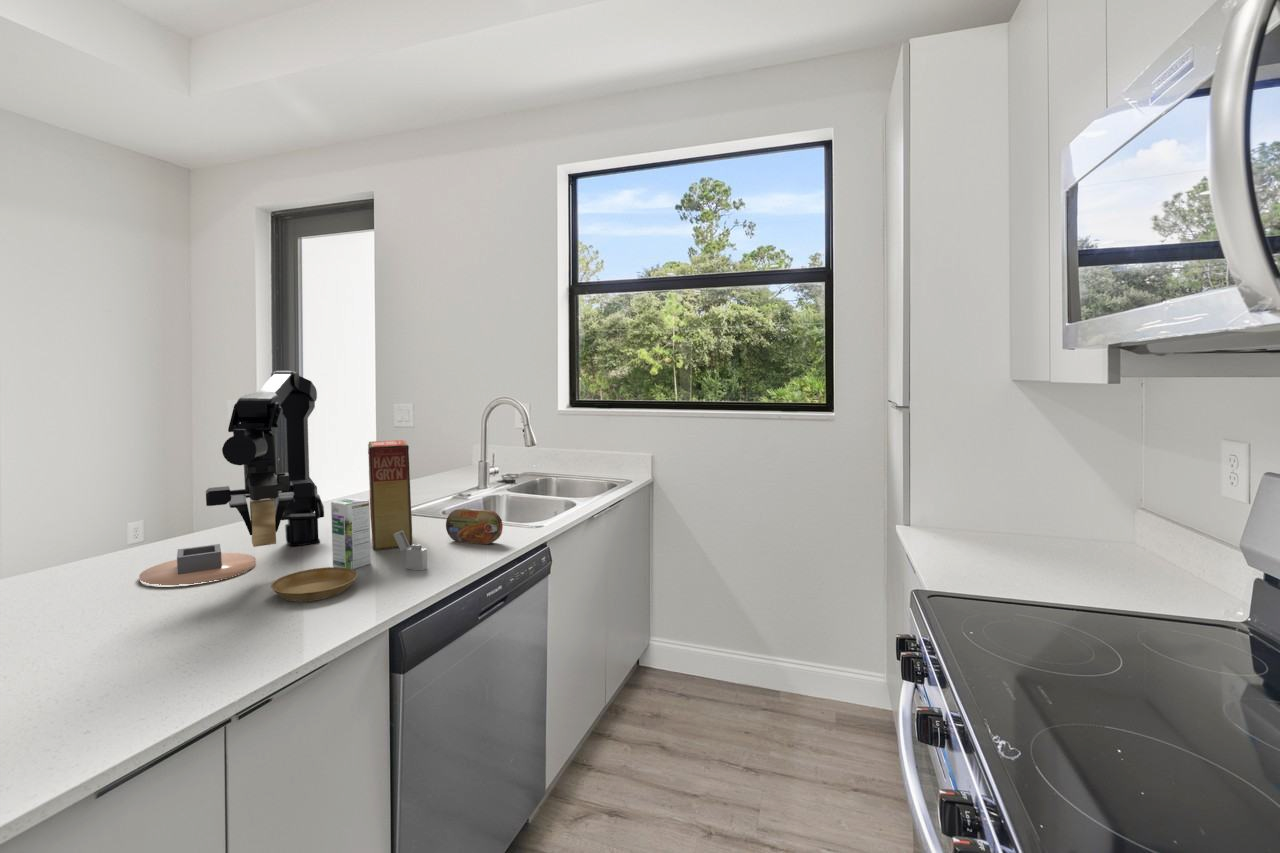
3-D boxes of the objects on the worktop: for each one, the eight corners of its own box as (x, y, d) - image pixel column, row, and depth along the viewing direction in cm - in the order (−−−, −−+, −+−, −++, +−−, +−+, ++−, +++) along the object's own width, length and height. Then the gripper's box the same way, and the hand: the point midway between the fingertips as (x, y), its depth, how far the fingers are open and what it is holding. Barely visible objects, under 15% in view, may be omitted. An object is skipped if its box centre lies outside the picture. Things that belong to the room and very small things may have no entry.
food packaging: (370, 537, 157) (367, 440, 155) (409, 533, 161) (407, 439, 159) (371, 550, 145) (368, 446, 143) (413, 546, 149) (411, 444, 147)
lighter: (427, 568, 132) (426, 531, 132) (422, 570, 131) (421, 533, 130) (399, 565, 134) (398, 529, 133) (394, 567, 132) (393, 531, 132)
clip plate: (252, 552, 143) (251, 533, 143) (259, 575, 127) (258, 554, 126) (142, 567, 131) (141, 547, 131) (135, 595, 115) (134, 571, 115)
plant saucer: (368, 593, 118) (368, 580, 117) (282, 613, 107) (281, 598, 107) (343, 574, 128) (343, 562, 128) (263, 591, 118) (262, 578, 118)
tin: (445, 541, 154) (444, 508, 153) (452, 538, 157) (452, 505, 156) (498, 546, 149) (497, 512, 149) (504, 543, 152) (504, 509, 152)
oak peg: (274, 539, 129) (272, 497, 128) (276, 543, 125) (274, 500, 125) (251, 542, 126) (249, 499, 126) (253, 546, 123) (251, 503, 122)
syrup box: (331, 567, 132) (329, 501, 131) (355, 560, 138) (353, 496, 136) (348, 571, 130) (346, 504, 128) (372, 563, 135) (370, 499, 134)
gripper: (204, 467, 112) (208, 549, 114) (317, 459, 123) (320, 534, 125) (203, 460, 121) (208, 536, 123) (309, 453, 132) (312, 524, 134)
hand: (263, 533), depth 126 cm, fingers closed on oak peg, 4 cm apart
